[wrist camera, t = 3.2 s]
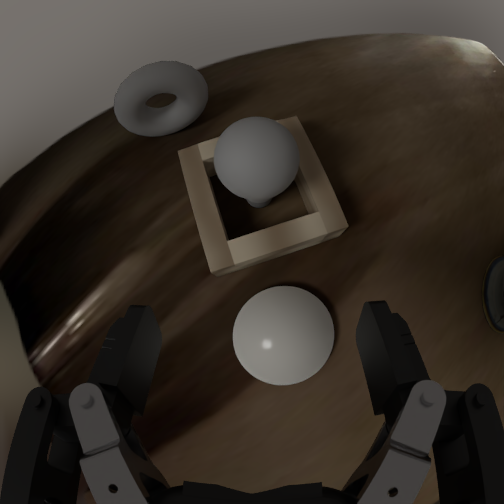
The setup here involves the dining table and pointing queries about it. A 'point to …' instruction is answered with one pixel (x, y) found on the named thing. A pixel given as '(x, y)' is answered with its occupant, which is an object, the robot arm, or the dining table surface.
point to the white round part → (283, 335)
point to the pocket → (273, 238)
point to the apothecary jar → (494, 294)
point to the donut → (155, 82)
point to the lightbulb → (256, 159)
